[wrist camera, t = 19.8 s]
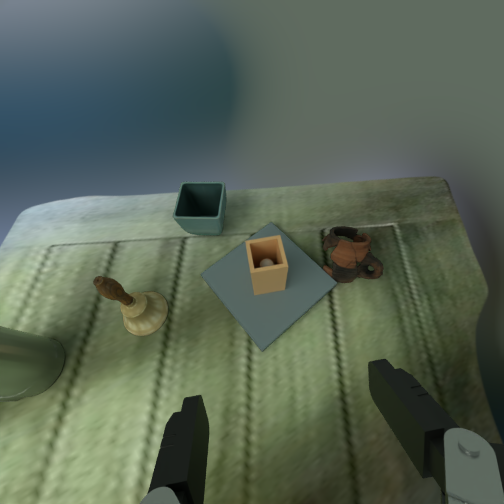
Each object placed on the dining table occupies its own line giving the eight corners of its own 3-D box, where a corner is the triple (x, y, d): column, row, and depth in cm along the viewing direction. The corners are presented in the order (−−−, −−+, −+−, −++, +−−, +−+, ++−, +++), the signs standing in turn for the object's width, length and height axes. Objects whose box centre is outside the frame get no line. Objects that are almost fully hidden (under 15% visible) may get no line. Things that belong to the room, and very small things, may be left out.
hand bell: (162, 284, 51) (121, 243, 37) (173, 324, 47) (132, 295, 33) (120, 302, 50) (61, 266, 36) (128, 343, 46) (66, 322, 32)
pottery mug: (306, 269, 51) (315, 232, 47) (331, 253, 57) (341, 219, 53) (365, 302, 44) (382, 261, 40) (386, 279, 50) (402, 242, 46)
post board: (262, 351, 44) (260, 343, 37) (202, 277, 51) (191, 258, 44) (335, 285, 49) (346, 267, 41) (271, 225, 56) (271, 201, 49)
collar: (284, 289, 47) (288, 266, 38) (254, 295, 47) (250, 273, 38) (278, 262, 50) (280, 234, 41) (249, 267, 50) (245, 240, 41)
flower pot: (185, 242, 55) (171, 217, 47) (192, 209, 59) (181, 181, 51) (226, 244, 54) (219, 218, 46) (231, 210, 58) (225, 181, 51)
